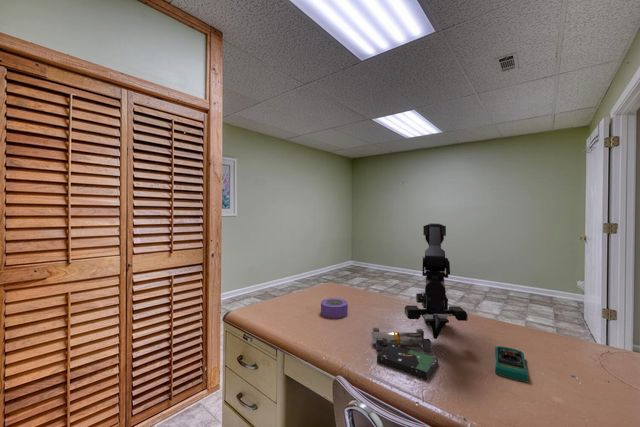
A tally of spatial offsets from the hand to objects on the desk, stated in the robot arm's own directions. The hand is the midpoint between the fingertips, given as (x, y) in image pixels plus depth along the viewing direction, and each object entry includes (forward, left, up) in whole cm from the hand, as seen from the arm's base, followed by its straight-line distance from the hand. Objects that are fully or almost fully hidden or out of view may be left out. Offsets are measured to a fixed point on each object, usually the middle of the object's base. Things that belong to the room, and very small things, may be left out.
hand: (434, 338), depth 93 cm
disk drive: (+12, +12, -3) cm, 17 cm away
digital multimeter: (-17, +11, -3) cm, 21 cm away
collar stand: (+11, 0, -2) cm, 12 cm away
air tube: (+13, 0, -2) cm, 13 cm away
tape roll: (+34, -28, -3) cm, 44 cm away
